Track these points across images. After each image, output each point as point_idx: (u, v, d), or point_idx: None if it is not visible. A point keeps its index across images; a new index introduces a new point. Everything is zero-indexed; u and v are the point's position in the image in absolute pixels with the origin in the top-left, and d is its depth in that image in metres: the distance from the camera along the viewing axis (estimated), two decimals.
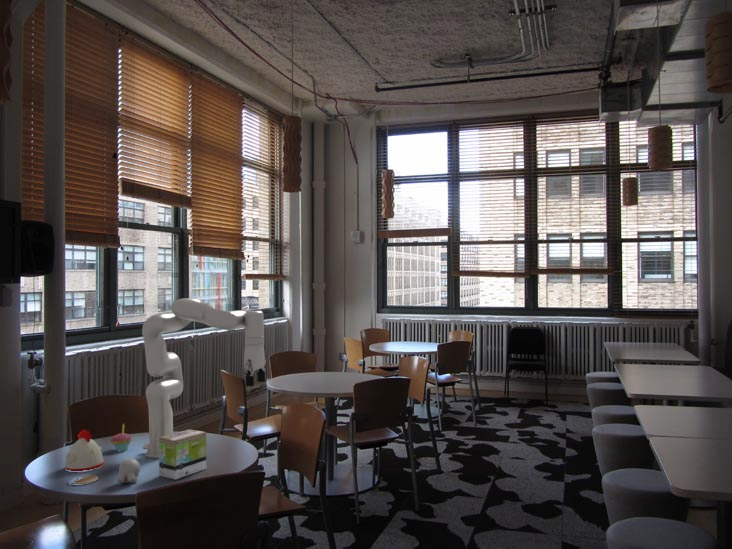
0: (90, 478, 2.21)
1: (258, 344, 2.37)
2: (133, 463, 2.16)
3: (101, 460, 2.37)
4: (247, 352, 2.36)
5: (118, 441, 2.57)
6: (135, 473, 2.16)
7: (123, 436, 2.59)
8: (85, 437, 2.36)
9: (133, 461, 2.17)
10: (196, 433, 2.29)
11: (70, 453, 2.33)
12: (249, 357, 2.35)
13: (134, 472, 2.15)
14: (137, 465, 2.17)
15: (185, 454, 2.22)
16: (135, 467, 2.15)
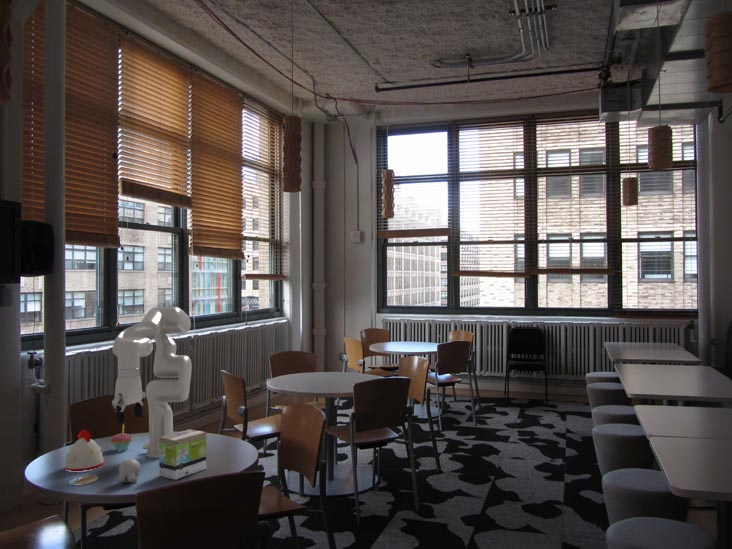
0: (90, 478, 2.21)
1: (131, 376, 2.16)
2: (133, 463, 2.16)
3: (101, 460, 2.37)
4: (118, 385, 2.15)
5: (118, 441, 2.57)
6: (135, 473, 2.16)
7: (123, 436, 2.59)
8: (85, 437, 2.36)
9: (133, 461, 2.17)
10: (196, 433, 2.29)
11: (70, 453, 2.33)
12: (120, 391, 2.14)
13: (134, 472, 2.15)
14: (137, 465, 2.17)
15: (185, 454, 2.22)
16: (135, 467, 2.16)
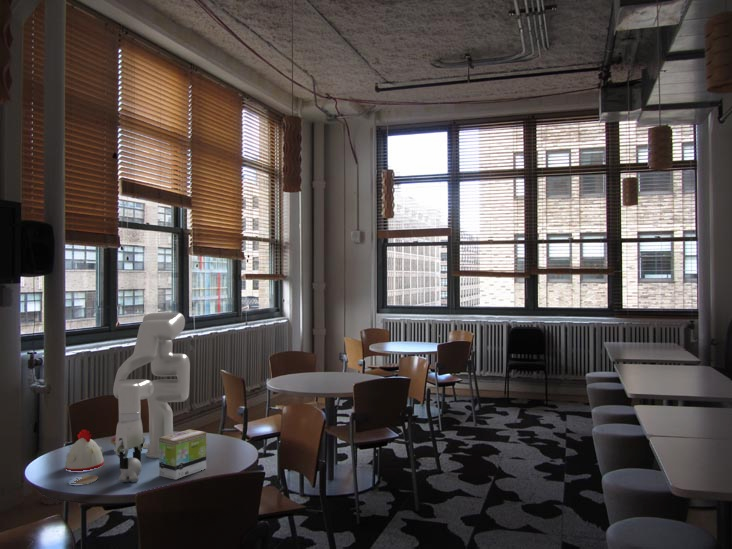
0: (90, 478, 2.21)
1: (132, 421, 2.16)
2: (135, 462, 2.17)
3: (101, 460, 2.37)
4: (119, 430, 2.15)
5: None
6: (137, 472, 2.17)
7: None
8: (85, 437, 2.36)
9: (135, 460, 2.18)
10: (196, 433, 2.29)
11: (70, 453, 2.33)
12: (121, 435, 2.14)
13: (136, 471, 2.16)
14: (139, 464, 2.18)
15: (185, 454, 2.22)
16: (136, 466, 2.16)
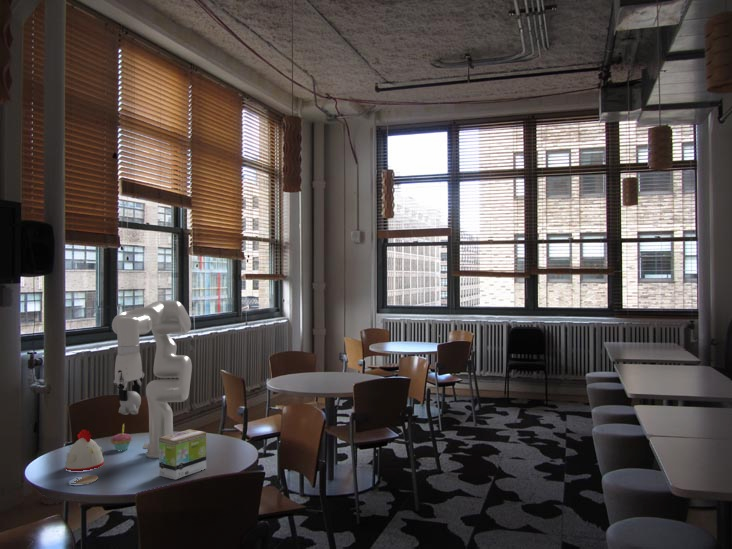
0: (90, 478, 2.21)
1: (131, 353, 2.16)
2: (134, 395, 2.18)
3: (101, 460, 2.37)
4: (118, 362, 2.15)
5: (118, 441, 2.57)
6: (136, 404, 2.18)
7: (123, 436, 2.59)
8: (85, 437, 2.36)
9: (134, 393, 2.19)
10: (196, 433, 2.29)
11: (70, 453, 2.33)
12: (120, 367, 2.15)
13: (135, 403, 2.17)
14: (138, 397, 2.19)
15: (185, 454, 2.22)
16: (136, 399, 2.17)
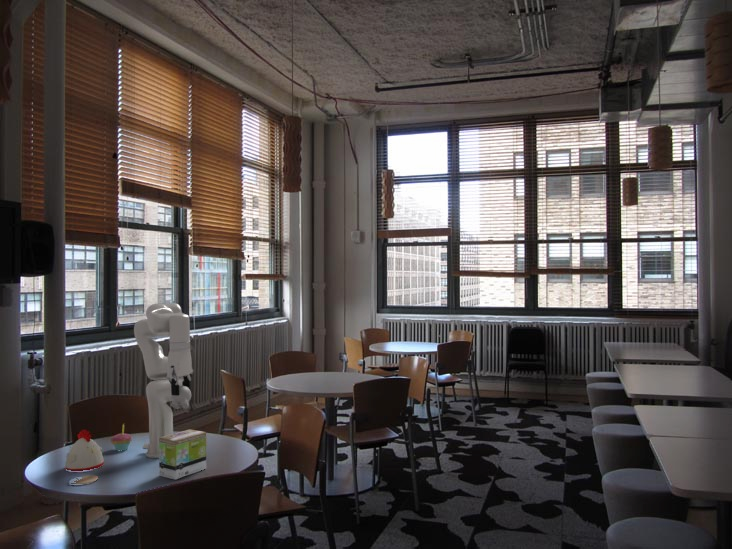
0: (90, 478, 2.21)
1: (182, 349, 2.25)
2: (185, 389, 2.26)
3: (101, 460, 2.37)
4: (170, 358, 2.24)
5: (118, 441, 2.57)
6: (187, 399, 2.26)
7: (123, 436, 2.59)
8: (85, 437, 2.36)
9: (185, 387, 2.27)
10: (196, 433, 2.29)
11: (70, 453, 2.33)
12: (172, 363, 2.23)
13: (187, 398, 2.25)
14: (189, 391, 2.27)
15: (185, 454, 2.22)
16: (187, 393, 2.26)
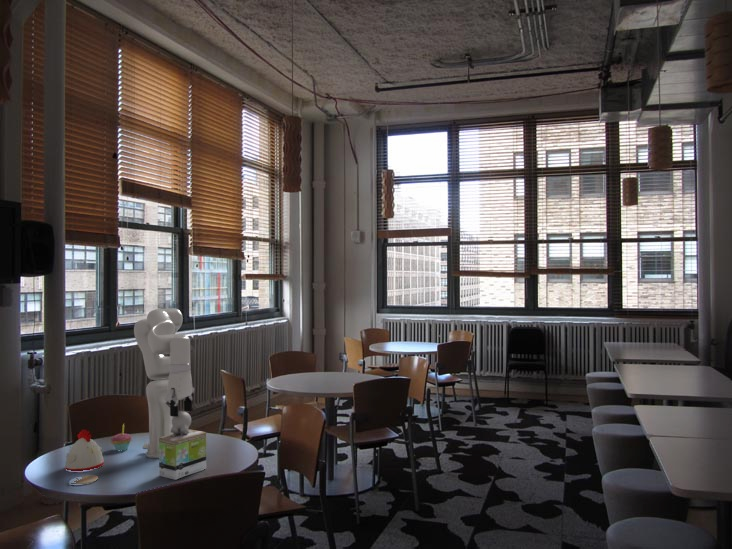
0: (90, 478, 2.21)
1: (183, 371, 2.25)
2: (185, 415, 2.26)
3: (101, 460, 2.37)
4: (171, 380, 2.24)
5: (118, 441, 2.57)
6: (187, 424, 2.26)
7: (123, 436, 2.59)
8: (85, 437, 2.36)
9: (185, 413, 2.27)
10: (196, 433, 2.29)
11: (70, 453, 2.33)
12: (173, 385, 2.23)
13: (186, 423, 2.25)
14: (189, 417, 2.27)
15: (184, 454, 2.22)
16: (187, 419, 2.26)
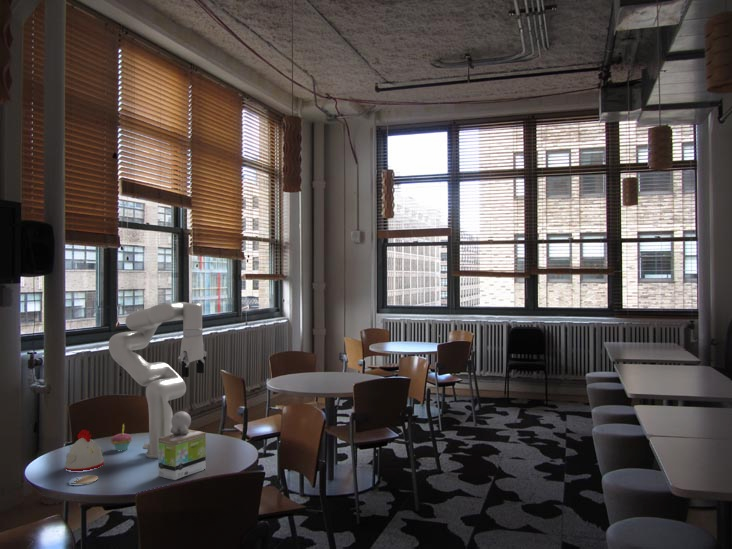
0: (90, 478, 2.21)
1: (194, 336, 2.41)
2: (185, 415, 2.26)
3: (101, 460, 2.37)
4: (183, 344, 2.40)
5: (118, 441, 2.57)
6: (187, 425, 2.26)
7: (123, 436, 2.59)
8: (85, 437, 2.36)
9: (185, 413, 2.27)
10: (195, 433, 2.29)
11: (70, 453, 2.33)
12: (185, 348, 2.39)
13: (186, 423, 2.25)
14: (189, 417, 2.27)
15: (184, 454, 2.22)
16: (187, 419, 2.25)
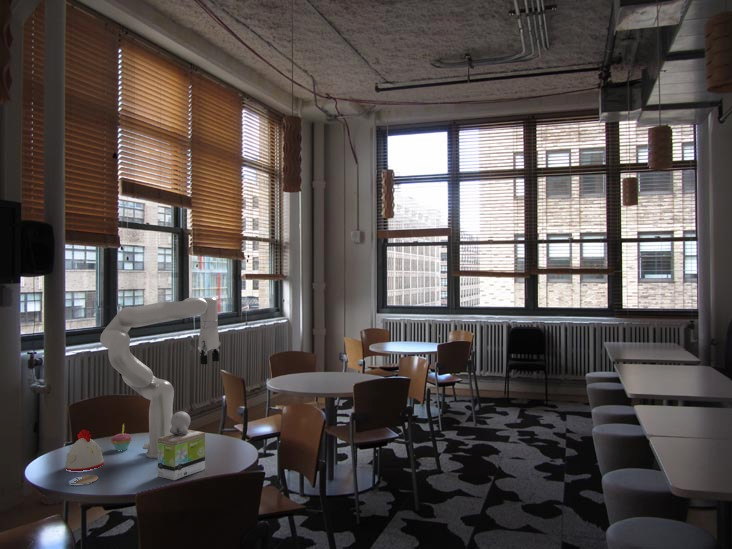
0: (90, 478, 2.21)
1: (212, 327, 2.65)
2: (184, 415, 2.26)
3: (101, 460, 2.37)
4: (202, 334, 2.64)
5: (118, 441, 2.57)
6: (186, 425, 2.25)
7: (123, 436, 2.59)
8: (85, 437, 2.36)
9: (184, 413, 2.26)
10: (195, 433, 2.28)
11: (70, 453, 2.33)
12: (203, 338, 2.64)
13: (186, 424, 2.25)
14: (188, 417, 2.26)
15: (183, 454, 2.22)
16: (186, 419, 2.25)
